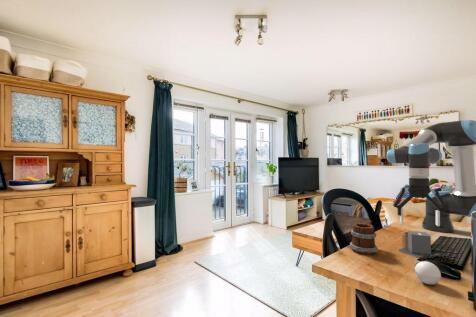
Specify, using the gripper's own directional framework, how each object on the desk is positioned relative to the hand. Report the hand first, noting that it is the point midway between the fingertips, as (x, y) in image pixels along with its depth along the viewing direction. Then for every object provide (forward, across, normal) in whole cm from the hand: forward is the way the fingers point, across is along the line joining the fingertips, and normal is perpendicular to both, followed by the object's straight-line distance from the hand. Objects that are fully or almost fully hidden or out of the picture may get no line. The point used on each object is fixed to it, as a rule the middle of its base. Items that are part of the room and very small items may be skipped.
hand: (419, 224), depth 113 cm
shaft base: (+13, 0, 0) cm, 13 cm away
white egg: (+13, -6, -33) cm, 36 cm away
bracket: (+14, +1, +12) cm, 19 cm away
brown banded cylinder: (+13, -23, -5) cm, 27 cm away
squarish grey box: (+12, 0, 0) cm, 12 cm away
